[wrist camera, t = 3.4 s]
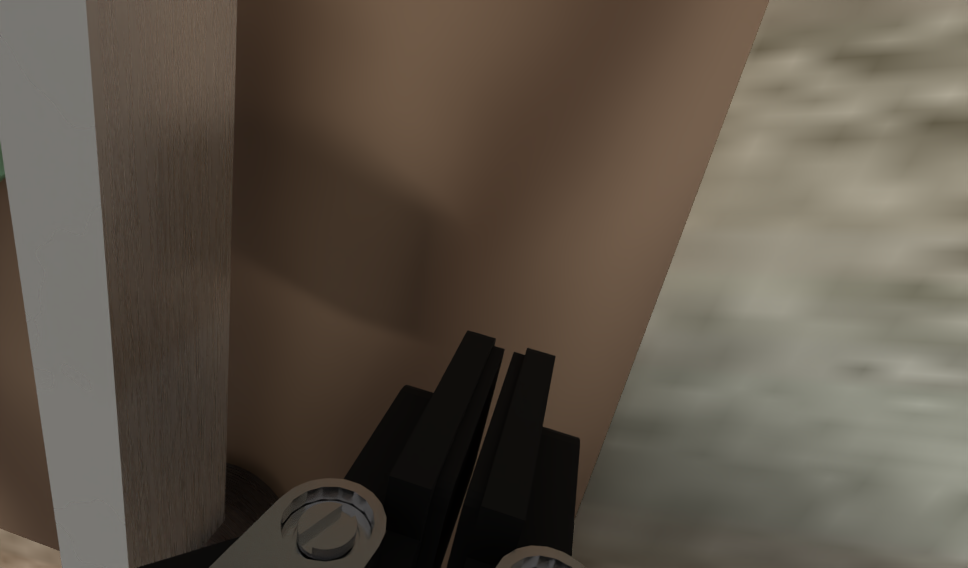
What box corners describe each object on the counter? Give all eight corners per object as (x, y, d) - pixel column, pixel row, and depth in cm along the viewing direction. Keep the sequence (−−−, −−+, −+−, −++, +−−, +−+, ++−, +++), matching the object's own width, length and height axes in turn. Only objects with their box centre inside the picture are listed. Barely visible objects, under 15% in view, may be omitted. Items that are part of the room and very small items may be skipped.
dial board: (786, -92, 10) (818, -122, 9) (508, 672, 19) (498, 724, 18) (-149, -268, 13) (-256, -316, 11) (-2, 484, 22) (-49, 516, 20)
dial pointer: (281, 608, 18) (179, 775, 14) (181, 571, 18) (52, 722, 14) (335, 15, 11) (155, -18, 7) (170, -22, 11) (-97, -77, 7)
